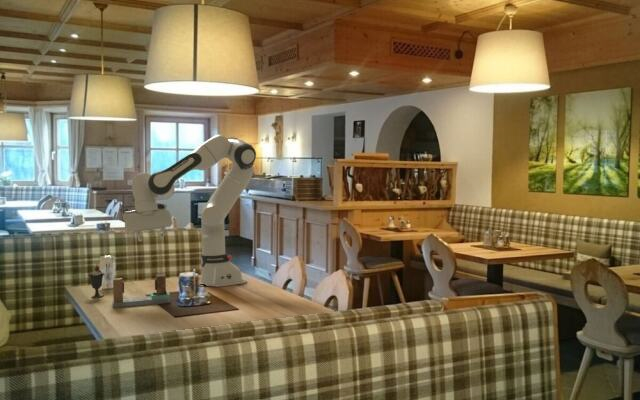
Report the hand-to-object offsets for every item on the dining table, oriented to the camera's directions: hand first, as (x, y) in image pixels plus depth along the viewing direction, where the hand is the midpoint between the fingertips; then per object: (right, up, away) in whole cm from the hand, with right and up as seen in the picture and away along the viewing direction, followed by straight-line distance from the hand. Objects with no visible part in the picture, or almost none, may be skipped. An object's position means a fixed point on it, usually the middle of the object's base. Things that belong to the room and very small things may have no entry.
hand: (151, 239), depth 254 cm
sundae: (-24, -25, -1) cm, 35 cm away
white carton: (-26, -24, +20) cm, 41 cm away
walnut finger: (+8, -23, -12) cm, 27 cm away
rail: (0, -26, -15) cm, 30 cm away
